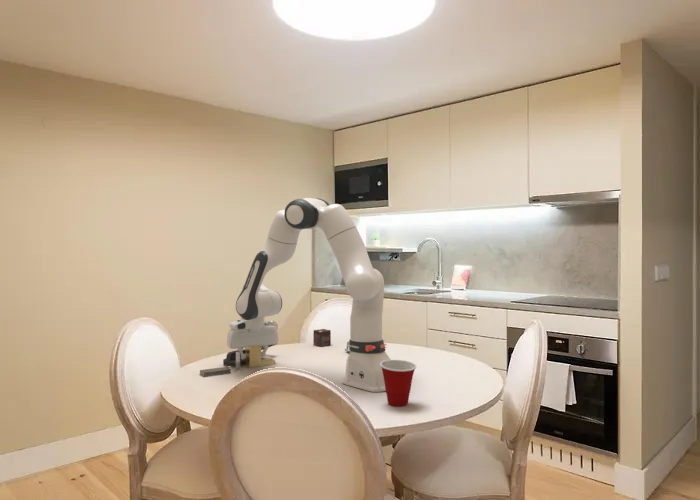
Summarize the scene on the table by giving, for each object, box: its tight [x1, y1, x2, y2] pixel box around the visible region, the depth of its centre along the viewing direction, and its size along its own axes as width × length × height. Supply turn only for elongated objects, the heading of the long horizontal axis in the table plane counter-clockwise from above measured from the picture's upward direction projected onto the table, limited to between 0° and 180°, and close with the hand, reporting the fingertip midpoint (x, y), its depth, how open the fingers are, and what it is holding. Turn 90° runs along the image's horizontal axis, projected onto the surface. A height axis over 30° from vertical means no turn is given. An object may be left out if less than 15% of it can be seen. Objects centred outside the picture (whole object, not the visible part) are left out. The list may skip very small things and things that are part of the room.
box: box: [312, 328, 332, 348], centre depth 249 cm, size 6×6×7 cm
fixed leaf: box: [199, 352, 242, 378], centre depth 195 cm, size 5×15×7 cm, turn 121°
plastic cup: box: [380, 359, 418, 407], centre depth 156 cm, size 11×11×12 cm
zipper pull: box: [222, 343, 278, 368], centre depth 217 cm, size 9×7×25 cm
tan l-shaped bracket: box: [244, 346, 276, 368], centre depth 209 cm, size 11×5×8 cm, turn 121°
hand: (253, 357), depth 207 cm, fingers open, 7 cm apart
